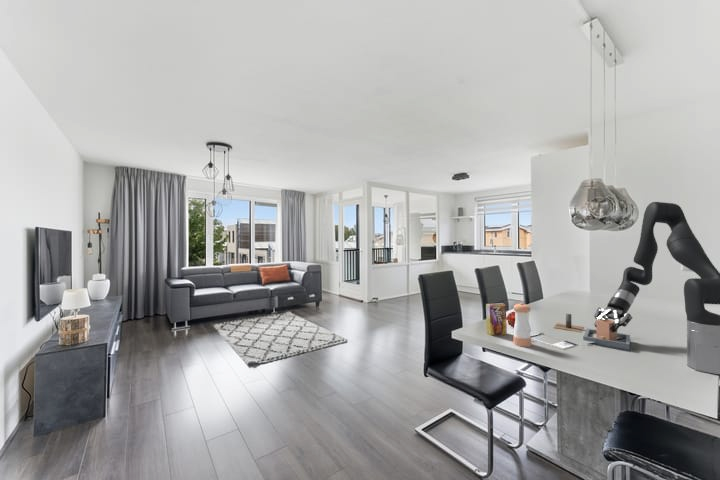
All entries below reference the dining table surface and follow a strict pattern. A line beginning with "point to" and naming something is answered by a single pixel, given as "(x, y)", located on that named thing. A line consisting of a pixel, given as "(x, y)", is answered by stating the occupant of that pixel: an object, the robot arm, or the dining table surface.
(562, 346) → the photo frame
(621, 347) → the tray
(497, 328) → the candy box
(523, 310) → the pepper shaker
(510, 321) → the dragon fruit
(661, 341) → the dining table surface
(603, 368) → the dining table surface
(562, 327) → the post stand
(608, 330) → the orange-brown box
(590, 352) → the dining table surface
